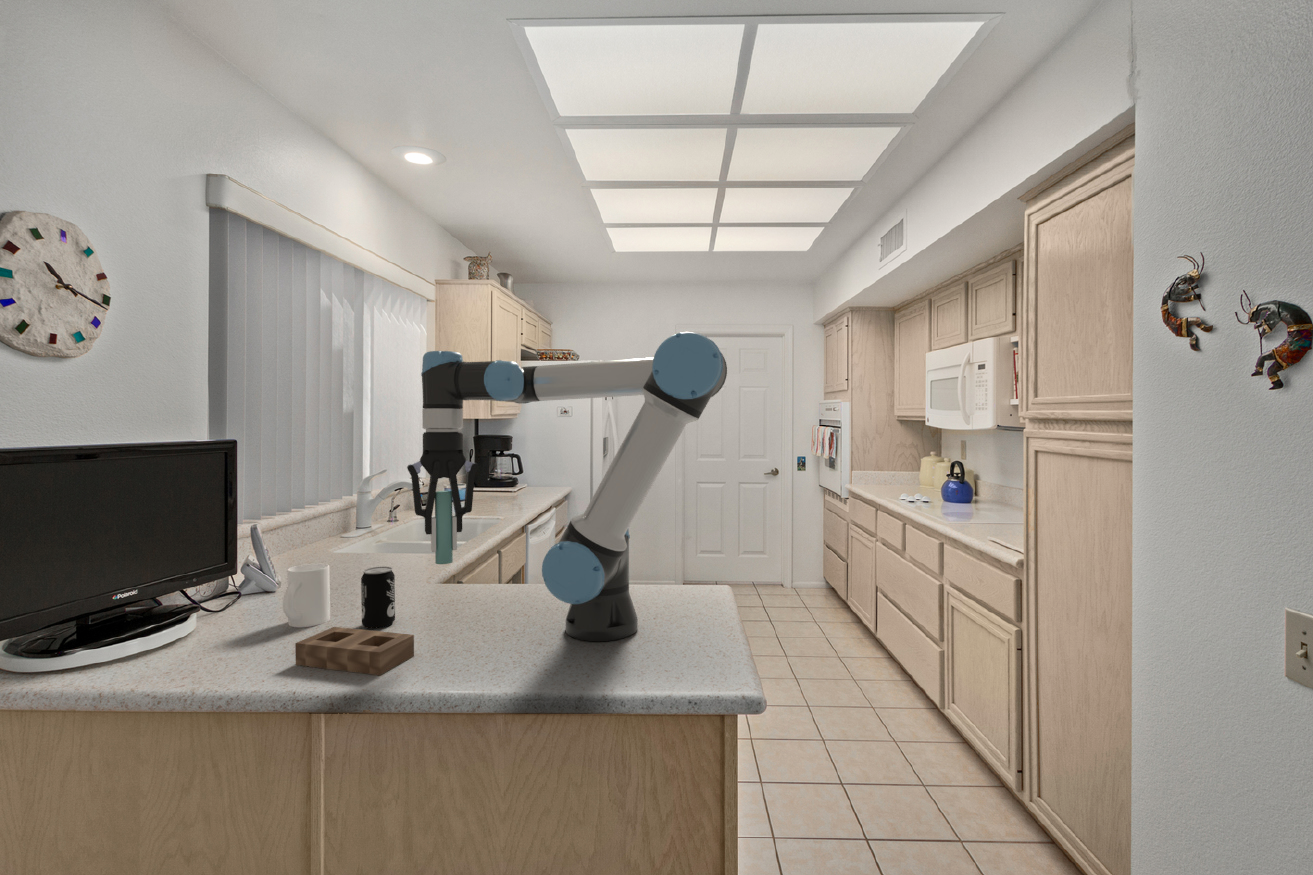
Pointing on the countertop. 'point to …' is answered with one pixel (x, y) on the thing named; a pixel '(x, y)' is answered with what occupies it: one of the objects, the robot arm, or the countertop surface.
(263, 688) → the countertop surface
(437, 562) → the peg
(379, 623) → the beverage can
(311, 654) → the hole block
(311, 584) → the mug
